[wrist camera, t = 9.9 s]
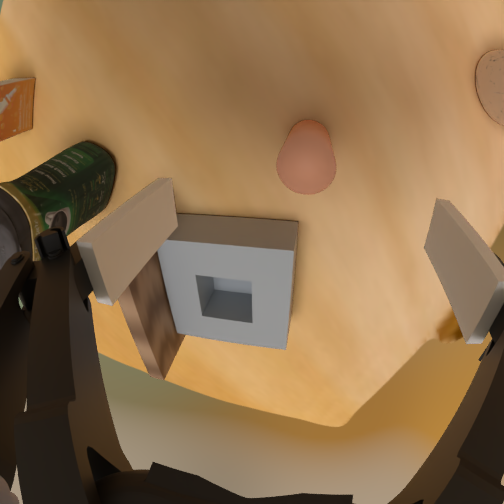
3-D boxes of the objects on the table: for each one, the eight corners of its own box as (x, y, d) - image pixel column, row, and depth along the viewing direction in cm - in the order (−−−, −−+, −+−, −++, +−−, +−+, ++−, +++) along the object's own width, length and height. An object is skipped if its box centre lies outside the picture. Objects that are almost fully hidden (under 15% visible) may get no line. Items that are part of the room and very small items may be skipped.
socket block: (177, 213, 35) (154, 238, 30) (298, 221, 32) (294, 250, 27) (192, 303, 42) (177, 333, 37) (291, 315, 40) (285, 349, 35)
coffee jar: (79, 132, 31) (-39, 190, 16) (124, 156, 32) (4, 231, 17) (67, 192, 37) (-27, 263, 21) (107, 217, 37) (15, 304, 22)
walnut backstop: (158, 189, 34) (98, 240, 24) (173, 189, 33) (115, 241, 23) (182, 314, 44) (150, 376, 34) (194, 316, 44) (164, 380, 34)
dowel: (289, 118, 27) (276, 136, 18) (330, 121, 26) (338, 140, 18) (288, 157, 29) (276, 192, 21) (328, 160, 28) (333, 196, 20)
